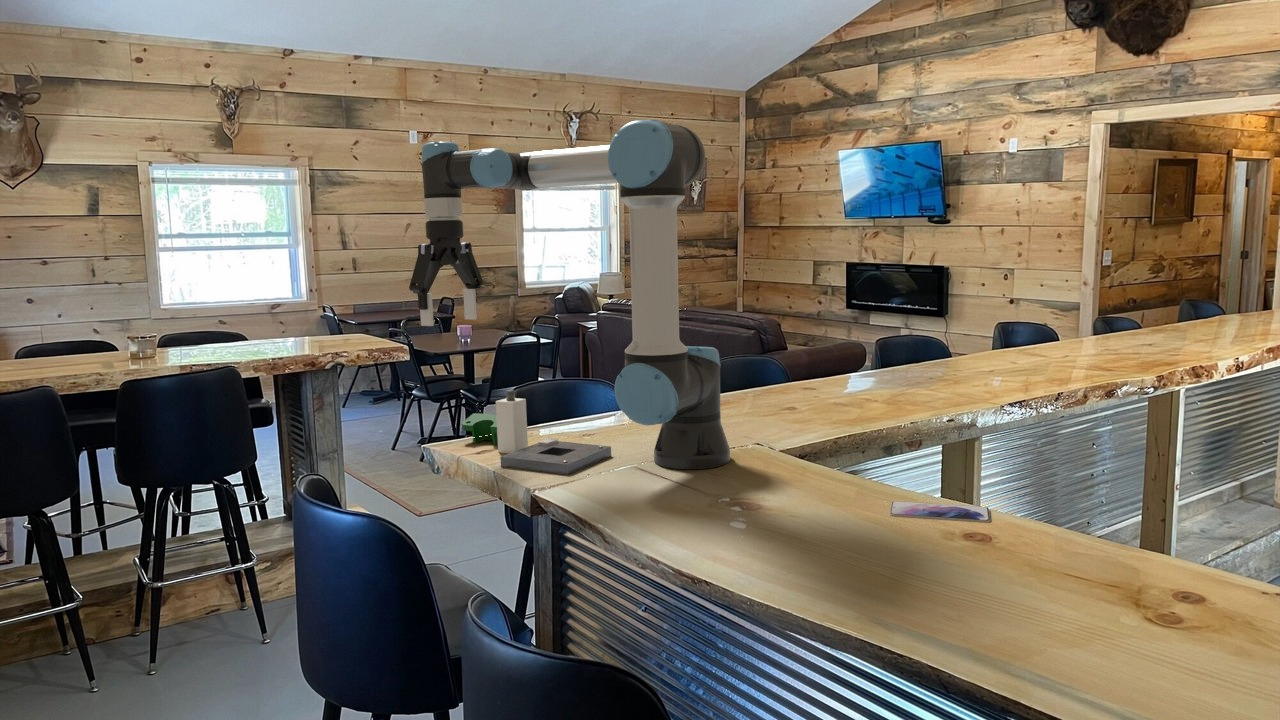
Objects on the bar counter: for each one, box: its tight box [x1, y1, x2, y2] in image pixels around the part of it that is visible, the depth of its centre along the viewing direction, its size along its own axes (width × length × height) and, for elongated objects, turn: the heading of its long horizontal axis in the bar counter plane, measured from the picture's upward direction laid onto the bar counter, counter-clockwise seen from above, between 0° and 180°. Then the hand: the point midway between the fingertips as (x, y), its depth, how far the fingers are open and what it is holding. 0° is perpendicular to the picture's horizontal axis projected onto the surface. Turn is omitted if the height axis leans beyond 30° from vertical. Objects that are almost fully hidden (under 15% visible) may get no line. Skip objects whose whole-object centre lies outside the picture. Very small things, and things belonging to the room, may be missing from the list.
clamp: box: [461, 413, 498, 446], centre depth 206 cm, size 12×6×9 cm, turn 61°
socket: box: [500, 437, 612, 476], centre depth 187 cm, size 16×16×3 cm
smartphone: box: [889, 500, 992, 524], centre depth 147 cm, size 7×1×15 cm
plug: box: [495, 389, 529, 454], centre depth 196 cm, size 4×4×13 cm
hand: (449, 322), depth 193 cm, fingers open, 13 cm apart
